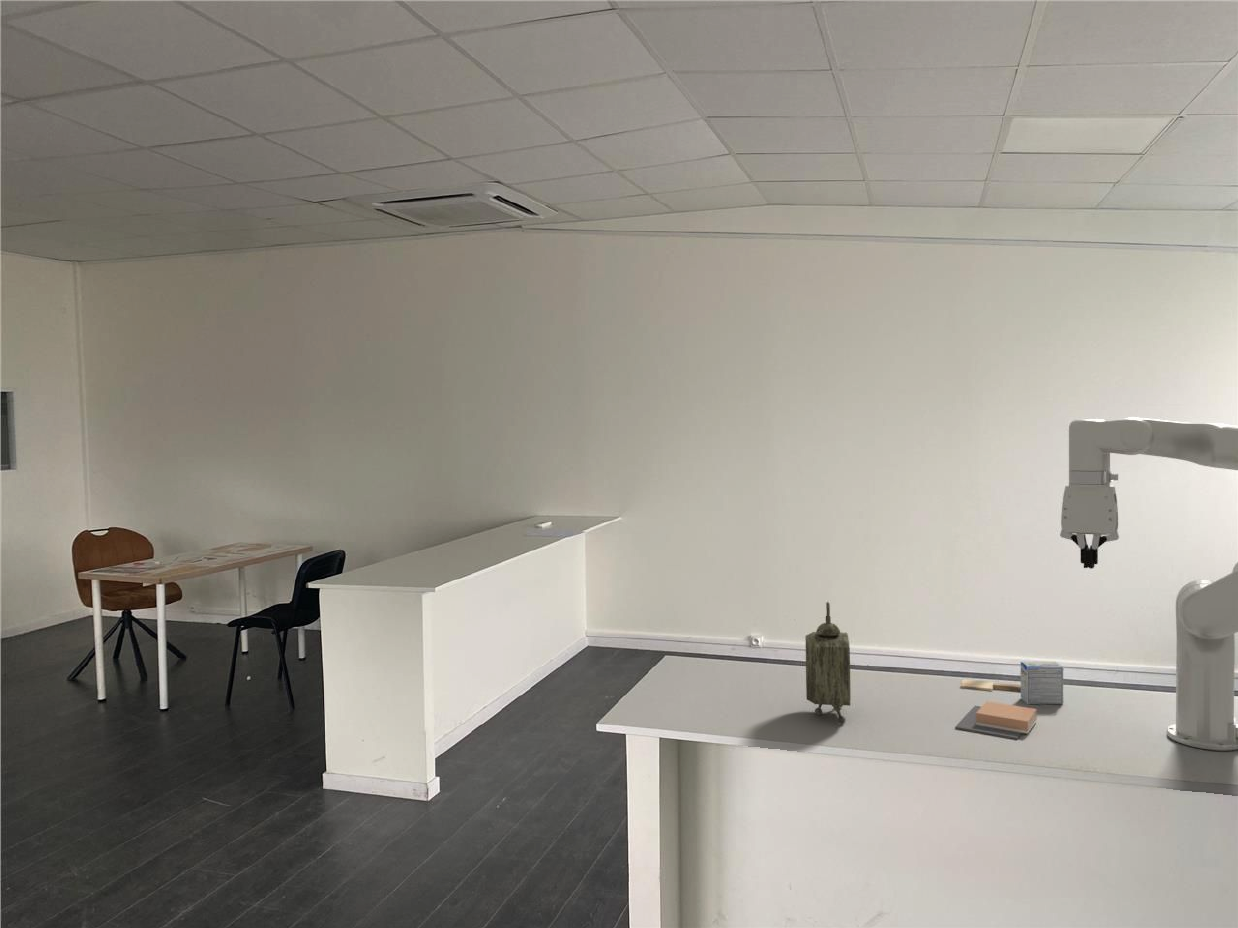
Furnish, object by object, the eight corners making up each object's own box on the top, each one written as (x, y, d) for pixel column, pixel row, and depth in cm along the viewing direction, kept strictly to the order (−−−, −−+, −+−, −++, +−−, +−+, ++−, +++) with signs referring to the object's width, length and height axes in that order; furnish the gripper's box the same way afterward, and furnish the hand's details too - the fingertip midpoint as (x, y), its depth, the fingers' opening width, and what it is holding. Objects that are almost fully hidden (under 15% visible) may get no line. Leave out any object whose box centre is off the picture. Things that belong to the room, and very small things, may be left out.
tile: (1036, 709, 185) (986, 701, 191) (1027, 721, 178) (976, 712, 183) (1036, 720, 185) (986, 712, 191) (1027, 733, 178) (976, 724, 184)
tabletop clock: (850, 727, 185) (849, 610, 184) (807, 725, 187) (805, 609, 185) (847, 705, 199) (845, 596, 198) (806, 703, 201) (804, 595, 200)
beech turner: (1039, 688, 207) (1039, 684, 207) (1039, 695, 202) (1039, 691, 202) (962, 681, 215) (962, 677, 215) (960, 688, 210) (960, 683, 210)
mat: (1033, 716, 189) (1033, 714, 189) (1017, 739, 176) (1017, 737, 176) (974, 707, 196) (974, 705, 196) (955, 728, 183) (955, 726, 183)
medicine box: (1056, 698, 200) (1056, 661, 200) (1063, 704, 196) (1063, 666, 196) (1020, 698, 201) (1020, 660, 201) (1027, 704, 197) (1027, 666, 196)
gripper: (1133, 478, 179) (1132, 567, 180) (1052, 477, 188) (1052, 562, 189) (1128, 481, 173) (1128, 573, 174) (1046, 479, 182) (1046, 567, 183)
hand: (1089, 567), depth 182 cm, fingers closed
